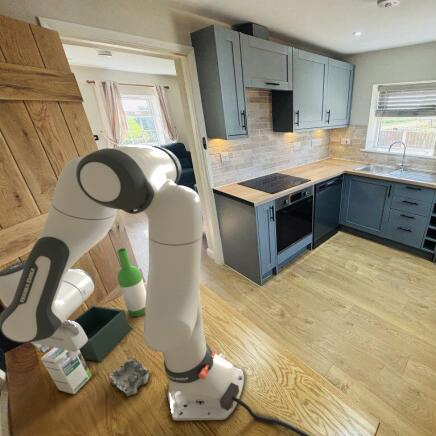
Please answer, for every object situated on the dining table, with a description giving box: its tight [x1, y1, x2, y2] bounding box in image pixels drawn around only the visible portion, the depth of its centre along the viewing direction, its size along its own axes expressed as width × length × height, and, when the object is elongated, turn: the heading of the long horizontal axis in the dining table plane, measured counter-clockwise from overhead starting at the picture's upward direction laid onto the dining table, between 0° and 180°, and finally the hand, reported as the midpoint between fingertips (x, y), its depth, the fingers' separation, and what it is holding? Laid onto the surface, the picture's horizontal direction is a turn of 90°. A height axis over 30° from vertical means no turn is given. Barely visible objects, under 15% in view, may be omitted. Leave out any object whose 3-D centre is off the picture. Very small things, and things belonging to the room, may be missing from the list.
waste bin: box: [72, 304, 132, 363], centre depth 85 cm, size 14×14×10 cm
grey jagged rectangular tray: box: [107, 357, 150, 397], centre depth 74 cm, size 11×8×4 cm
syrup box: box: [40, 347, 93, 395], centre depth 71 cm, size 6×6×14 cm
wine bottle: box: [116, 247, 147, 317], centre depth 95 cm, size 8×8×30 cm
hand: (58, 352), depth 68 cm, fingers open, 8 cm apart
